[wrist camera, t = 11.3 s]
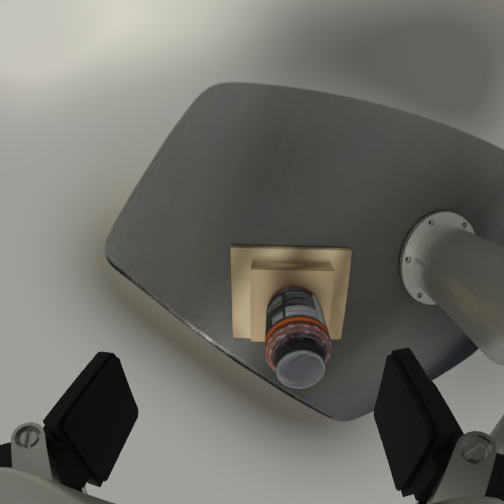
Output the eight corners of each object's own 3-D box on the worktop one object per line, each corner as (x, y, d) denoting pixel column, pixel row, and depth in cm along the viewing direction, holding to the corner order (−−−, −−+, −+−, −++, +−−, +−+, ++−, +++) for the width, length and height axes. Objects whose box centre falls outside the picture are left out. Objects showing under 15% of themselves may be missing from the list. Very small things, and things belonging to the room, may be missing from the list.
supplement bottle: (307, 337, 34) (317, 404, 23) (259, 322, 34) (251, 388, 23) (328, 293, 32) (350, 352, 21) (278, 276, 32) (278, 331, 21)
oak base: (349, 248, 34) (358, 258, 31) (339, 335, 38) (344, 351, 34) (231, 245, 35) (226, 255, 32) (234, 333, 39) (229, 350, 35)
